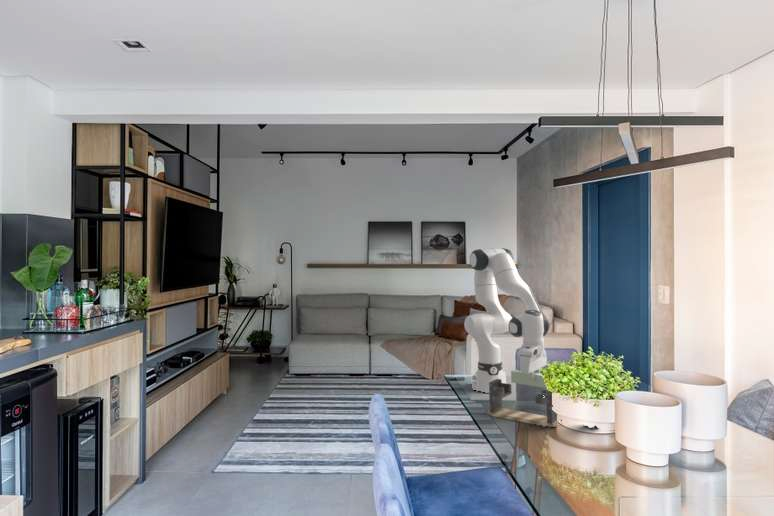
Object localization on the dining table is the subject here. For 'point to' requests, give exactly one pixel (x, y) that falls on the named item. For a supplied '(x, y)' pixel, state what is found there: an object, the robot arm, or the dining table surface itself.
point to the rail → (527, 379)
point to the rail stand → (502, 390)
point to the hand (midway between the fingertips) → (534, 379)
